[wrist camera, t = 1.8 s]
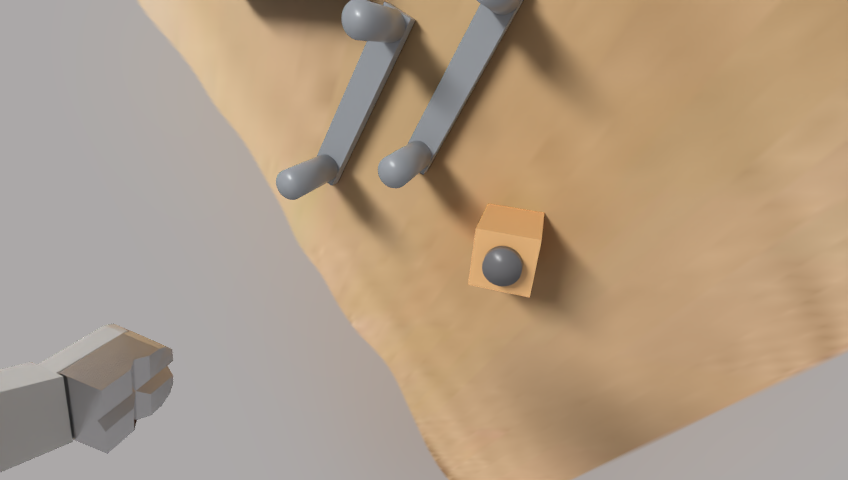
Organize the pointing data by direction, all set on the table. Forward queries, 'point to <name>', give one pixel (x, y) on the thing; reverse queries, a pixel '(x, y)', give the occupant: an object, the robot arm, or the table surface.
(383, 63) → the clip
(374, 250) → the table surface
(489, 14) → the clip
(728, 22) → the table surface
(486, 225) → the block with round knob
